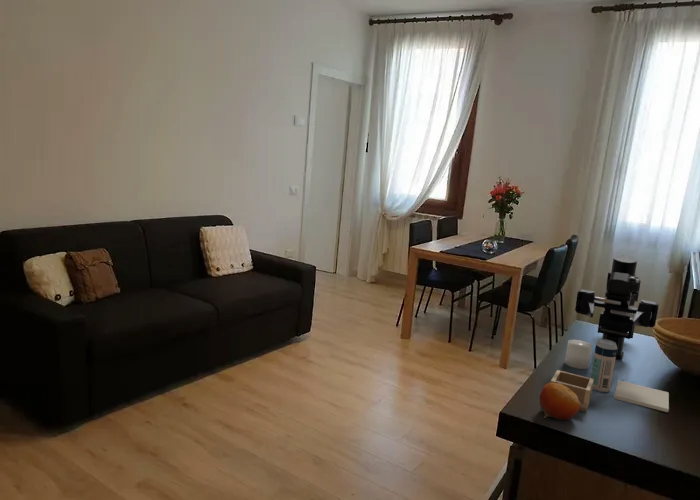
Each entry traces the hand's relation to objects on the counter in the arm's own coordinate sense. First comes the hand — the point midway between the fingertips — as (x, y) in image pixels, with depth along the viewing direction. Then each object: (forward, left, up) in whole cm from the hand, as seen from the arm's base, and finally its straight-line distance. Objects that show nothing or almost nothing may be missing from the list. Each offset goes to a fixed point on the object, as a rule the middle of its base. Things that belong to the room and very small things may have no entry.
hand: (611, 319), depth 132 cm
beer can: (+5, 0, -17) cm, 17 cm away
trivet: (+3, +9, -16) cm, 19 cm away
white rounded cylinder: (-9, -7, -16) cm, 20 cm away
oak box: (+17, -5, -16) cm, 24 cm away
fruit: (+27, -6, -17) cm, 32 cm away
